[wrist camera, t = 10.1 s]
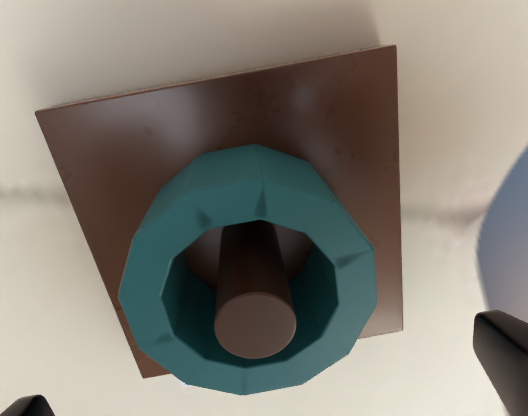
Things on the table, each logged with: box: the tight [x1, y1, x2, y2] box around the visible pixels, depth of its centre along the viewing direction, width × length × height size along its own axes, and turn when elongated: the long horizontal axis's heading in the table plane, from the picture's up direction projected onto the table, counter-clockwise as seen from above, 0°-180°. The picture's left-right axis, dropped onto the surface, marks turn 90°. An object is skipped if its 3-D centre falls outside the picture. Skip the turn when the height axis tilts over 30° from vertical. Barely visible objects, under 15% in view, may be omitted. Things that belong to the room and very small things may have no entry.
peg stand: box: [35, 45, 403, 378], centre depth 12 cm, size 11×11×6 cm
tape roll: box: [118, 144, 377, 395], centre depth 12 cm, size 7×7×4 cm
